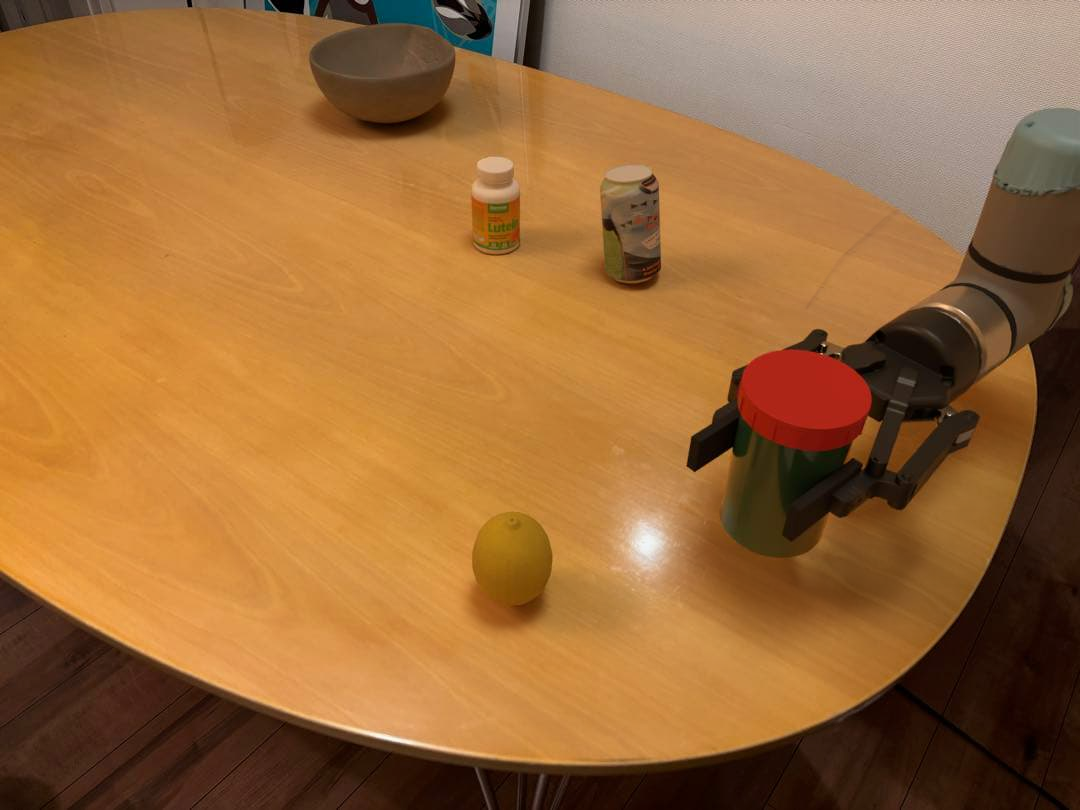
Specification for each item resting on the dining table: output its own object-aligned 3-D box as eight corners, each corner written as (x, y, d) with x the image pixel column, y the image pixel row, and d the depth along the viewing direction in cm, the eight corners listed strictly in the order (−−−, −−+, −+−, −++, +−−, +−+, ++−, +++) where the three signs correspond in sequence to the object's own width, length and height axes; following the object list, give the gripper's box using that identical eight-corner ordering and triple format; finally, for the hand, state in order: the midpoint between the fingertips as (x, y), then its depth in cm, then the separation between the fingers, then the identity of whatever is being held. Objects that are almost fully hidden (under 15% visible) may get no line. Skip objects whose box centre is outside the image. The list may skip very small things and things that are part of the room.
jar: (831, 562, 60) (875, 435, 52) (723, 554, 60) (752, 427, 53) (814, 486, 65) (852, 361, 58) (715, 479, 65) (740, 355, 58)
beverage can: (644, 297, 93) (655, 193, 86) (583, 277, 96) (589, 174, 89) (669, 270, 98) (682, 169, 90) (610, 252, 100) (618, 152, 93)
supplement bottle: (486, 260, 99) (484, 179, 92) (464, 239, 102) (461, 159, 96) (528, 248, 101) (529, 168, 95) (505, 227, 104) (504, 149, 98)
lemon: (565, 587, 64) (569, 511, 59) (522, 641, 61) (523, 565, 55) (503, 554, 66) (501, 478, 61) (458, 604, 63) (452, 528, 58)
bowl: (289, 117, 128) (277, 47, 122) (393, 80, 140) (387, 13, 134) (383, 157, 118) (375, 83, 112) (487, 113, 130) (485, 43, 124)
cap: (876, 455, 53) (884, 433, 52) (743, 446, 53) (748, 424, 52) (851, 374, 59) (858, 353, 58) (732, 367, 59) (736, 345, 58)
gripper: (1044, 457, 64) (861, 625, 53) (814, 333, 76) (623, 447, 64) (1086, 376, 59) (895, 541, 48) (834, 256, 71) (632, 365, 59)
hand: (740, 487), depth 56 cm, fingers closed on jar, 7 cm apart
